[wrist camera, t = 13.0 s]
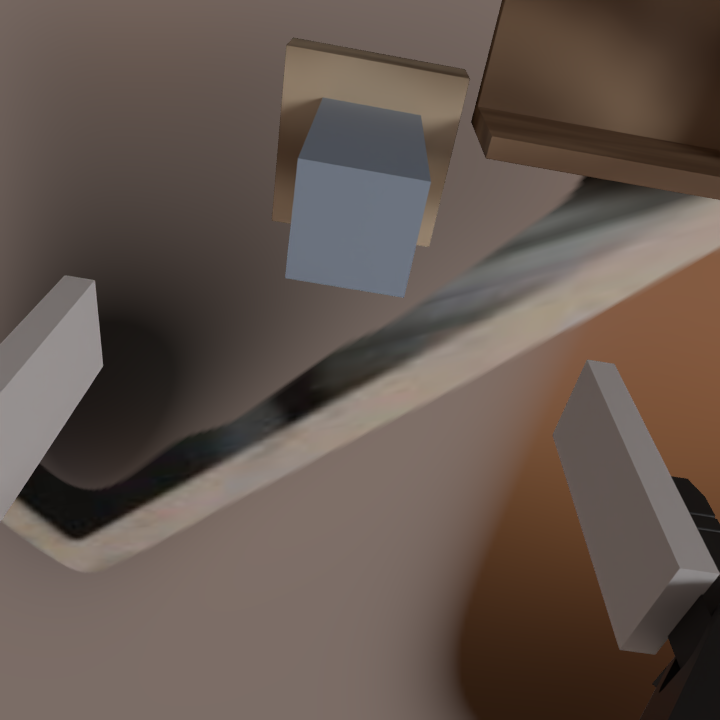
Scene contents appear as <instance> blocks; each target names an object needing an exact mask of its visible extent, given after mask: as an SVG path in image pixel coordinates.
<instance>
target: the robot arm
mask: <svg viewBox="0 0 720 720" xmlns="http://www.w3.org/2000/svg"><path fill="white" fill-rule="evenodd" d="M102 367H103V360H102V350H101V340H100V329H99V318H98V309H97V298H96V287H95V280H90V279H84V278H78V277H72V276H66V275H65V276H64V277H63V278H62V279H61V280H60V281H59V282H58V283H57V284H56V285H55V286H54V288H52V289H51V291H50V292H49V293H48V294H47V295H46V296H45V297H44V298H43V299H42V300H41V301H40V302H39V303H38V305H36V307H35V308H34V309H33V310H32V311H31V312H30V313H29V314H28V315H27V316H26V317H25V318H24V319H23V320H22V322H21V323H20V324H19V325H18V326H17V327H16V328H15V329H14V330H13V331H12V332H11V333H10V334H9V336H8V337H7V338H6V339H5V340H4V341H3V342H2V343H1V344H0V522H1V520H2V519H3V517H4V516H5V514H6V513H7V511H8V509H9V508H10V506H11V505H12V503H13V502H14V500H15V499H16V497H17V496H18V494H19V493H20V491H21V490H22V488H23V487H24V485H25V484H26V482H27V481H28V479H29V478H30V476H31V475H32V473H33V471H34V470H35V468H36V467H37V465H38V464H39V462H40V461H41V459H42V458H43V456H44V455H45V453H46V452H47V450H48V449H49V447H50V446H51V444H52V443H53V441H54V440H55V438H56V437H57V435H58V433H59V432H60V430H61V429H62V427H63V426H64V424H65V422H66V421H67V420H68V418H69V417H70V415H71V414H72V412H73V411H74V409H75V408H76V406H77V404H78V403H79V401H80V400H81V398H82V397H83V395H84V394H85V392H86V391H87V389H88V388H89V386H90V385H91V383H92V382H93V380H94V379H95V377H96V376H97V374H98V373H99V371H100V370H101V368H102ZM553 438H554V441H555V444H556V448H557V451H558V454H559V457H560V460H561V463H562V467H563V470H564V473H565V476H566V480H567V483H568V486H569V489H570V492H571V495H572V499H573V502H574V505H575V508H576V511H577V515H578V518H579V521H580V524H581V527H582V531H583V534H584V537H585V540H586V544H587V546H588V550H589V553H590V556H591V560H592V563H593V566H594V569H595V572H596V575H597V579H598V582H599V585H600V588H601V592H602V595H603V598H604V601H605V605H606V608H607V611H608V614H609V617H610V620H611V624H612V627H613V630H614V633H615V636H616V640H617V643H618V646H619V649H620V650H625V651H633V652H640V653H647V654H656V653H657V652H658V650H659V649H660V648H661V647H662V645H663V644H664V643H665V642H666V640H667V639H669V641H670V644H671V646H672V649H673V652H674V654H675V657H674V659H673V660H672V661H671V662H670V663H669V664H668V666H667V667H666V668H665V669H664V670H663V672H662V673H661V674H660V675H659V676H658V677H657V679H656V680H655V681H654V682H653V685H654V686H655V687H656V689H655V691H654V693H653V695H652V697H651V699H650V701H649V703H648V705H647V706H646V709H645V710H644V712H643V714H642V716H641V718H640V720H720V524H719V522H718V520H717V519H715V514H714V513H713V511H712V509H711V507H710V505H709V503H708V502H707V500H706V498H705V496H704V495H703V494H701V492H700V491H699V490H698V489H697V488H696V487H695V486H694V485H693V484H692V483H691V482H690V481H689V480H688V479H684V478H678V477H672V476H670V474H669V472H668V470H667V468H666V466H665V464H664V462H663V460H662V458H661V456H660V454H659V452H658V450H657V448H656V446H655V444H654V442H653V440H652V438H651V436H650V434H649V432H648V430H647V428H646V426H645V424H644V422H643V420H642V418H641V416H640V414H639V412H638V410H637V408H636V406H635V404H634V402H633V400H632V398H631V396H630V394H629V392H628V390H627V388H626V386H625V384H624V382H623V380H622V378H621V376H620V374H619V372H618V370H617V368H616V366H615V364H611V363H605V362H599V361H593V360H587V361H586V363H585V365H584V368H583V370H582V372H581V374H580V376H579V378H578V380H577V383H576V385H575V387H574V389H573V391H572V394H571V396H570V398H569V400H568V402H567V404H566V407H565V409H564V411H563V413H562V415H561V418H560V420H559V422H558V424H557V426H556V429H555V431H554V433H553Z"/></svg>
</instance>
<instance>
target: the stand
mask: <svg viewBox="0 0 720 720" xmlns="http://www.w3.org/2000/svg"><path fill="white" fill-rule="evenodd" d="M469 80H470V78H469V76H468V75H467V72H466V70H465V69H460V68H454V67H449V66H444V65H439V64H433V63H428V62H422V61H417V60H412V59H406V58H401V57H396V56H390V55H385V54H379V53H374V52H368V51H362V50H357V49H352V48H347V47H341V46H335V45H331V44H325V43H320V42H314V41H309V40H304V39H298V38H293V39H292V40H291V41H290V42H289V43H288V44H287V46H286V58H285V70H284V81H283V94H282V105H281V117H280V129H279V141H278V153H277V165H276V178H275V190H274V202H273V213H272V221H277V222H283V223H289V224H291V219H292V209H293V200H294V191H295V181H296V172H297V162H298V157H299V154H300V152H301V150H302V147H303V145H304V142H305V140H306V137H307V135H308V132H309V130H310V128H311V125H312V123H313V120H314V118H315V115H316V113H317V111H318V108H319V106H320V103H321V101H322V98H323V97H324V98H329V99H335V100H340V101H346V102H351V103H356V104H362V105H367V106H373V107H378V108H384V109H389V110H395V111H400V112H406V113H411V114H416V115H421V119H422V125H423V132H424V139H425V145H426V152H427V159H428V165H429V172H430V179H431V184H430V188H429V192H428V197H427V201H426V205H425V210H424V214H423V218H422V222H421V227H420V231H419V235H418V239H417V244H416V245H420V246H427V247H429V245H430V241H431V236H432V232H433V228H434V224H435V220H436V216H437V212H438V208H439V204H440V199H441V195H442V191H443V187H444V183H445V179H446V175H447V171H448V167H449V163H450V158H451V154H452V150H453V146H454V142H455V138H456V134H457V130H458V126H459V122H460V117H461V113H462V109H463V105H464V101H465V97H466V93H467V89H468V85H469Z"/></svg>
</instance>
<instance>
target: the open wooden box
mask: <svg viewBox="0 0 720 720" xmlns="http://www.w3.org/2000/svg"><path fill="white" fill-rule="evenodd" d="M471 123H472V125H473V127H474V130H475V133H476V135H477V137H478V140H479V142H480V144H481V147H482V150H483V152H484V155H485V157H486V158H487V159H493V160H499V161H504V162H509V163H515V164H521V165H527V166H532V167H538V168H543V169H549V170H555V171H560V172H566V173H572V174H577V175H583V176H588V177H594V178H600V179H605V180H611V181H617V182H622V183H628V184H634V185H639V186H645V187H651V188H656V189H662V190H667V191H673V192H679V193H684V194H690V195H696V196H701V197H707V198H713V199H718V200H720V0H502V3H501V7H500V11H499V15H498V19H497V23H496V27H495V30H494V35H493V39H492V43H491V46H490V50H489V54H488V58H487V62H486V66H485V70H484V74H483V78H482V82H481V86H480V90H479V93H478V97H477V101H476V105H475V110H474V113H473V117H472V121H471Z"/></svg>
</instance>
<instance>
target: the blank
mask: <svg viewBox="0 0 720 720" xmlns="http://www.w3.org/2000/svg"><path fill="white" fill-rule="evenodd" d="M430 184H431V179H430V172H429V165H428V159H427V152H426V145H425V139H424V132H423V125H422V119H421V115H416V114H411V113H406V112H400V111H395V110H389V109H384V108H378V107H373V106H367V105H362V104H356V103H351V102H346V101H340V100H335V99H329V98H324V97H323V98H322V101H321V103H320V106H319V108H318V111H317V113H316V115H315V118H314V120H313V123H312V125H311V128H310V130H309V132H308V135H307V137H306V140H305V142H304V145H303V147H302V150H301V152H300V154H299V157H298V162H297V172H296V181H295V191H294V200H293V209H292V219H291V228H290V238H289V248H288V257H287V266H286V276H285V278H288V279H294V280H301V281H307V282H313V283H319V284H325V285H331V286H337V287H343V288H349V289H355V290H361V291H367V292H373V293H379V294H385V295H391V296H397V297H404V295H405V290H406V286H407V282H408V278H409V273H410V269H411V265H412V261H413V256H414V252H415V248H416V244H417V239H418V235H419V231H420V227H421V222H422V218H423V214H424V210H425V205H426V201H427V197H428V192H429V188H430Z"/></svg>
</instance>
